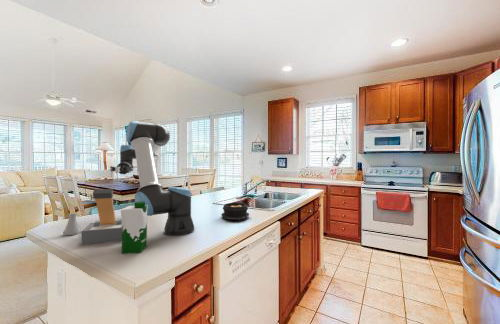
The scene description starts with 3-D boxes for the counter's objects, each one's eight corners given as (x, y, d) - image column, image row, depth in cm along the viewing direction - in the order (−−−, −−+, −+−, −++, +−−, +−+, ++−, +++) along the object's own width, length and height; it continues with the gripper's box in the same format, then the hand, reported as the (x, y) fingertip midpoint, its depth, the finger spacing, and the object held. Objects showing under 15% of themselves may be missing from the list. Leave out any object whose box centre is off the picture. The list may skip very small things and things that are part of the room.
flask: (71, 236, 110) (71, 216, 110) (59, 235, 112) (59, 215, 112) (84, 231, 117) (84, 212, 117) (73, 230, 119) (73, 212, 119)
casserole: (250, 222, 138) (250, 208, 138) (220, 222, 137) (220, 208, 137) (248, 212, 163) (248, 201, 163) (222, 213, 162) (222, 201, 162)
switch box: (91, 234, 113) (91, 218, 113) (131, 231, 119) (131, 215, 119) (81, 244, 100) (81, 226, 100) (127, 239, 106) (127, 222, 106)
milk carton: (141, 254, 90) (141, 204, 90) (117, 254, 90) (118, 204, 90) (149, 245, 99) (149, 200, 99) (127, 246, 98) (128, 200, 98)
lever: (100, 222, 109) (94, 189, 99) (117, 220, 111) (112, 189, 101) (99, 226, 107) (92, 193, 97) (116, 224, 109) (111, 192, 99)
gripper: (135, 173, 150) (130, 176, 128) (112, 174, 145) (103, 176, 123) (135, 162, 150) (130, 163, 128) (112, 162, 145) (103, 162, 123)
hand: (116, 169), depth 126 cm, fingers closed
